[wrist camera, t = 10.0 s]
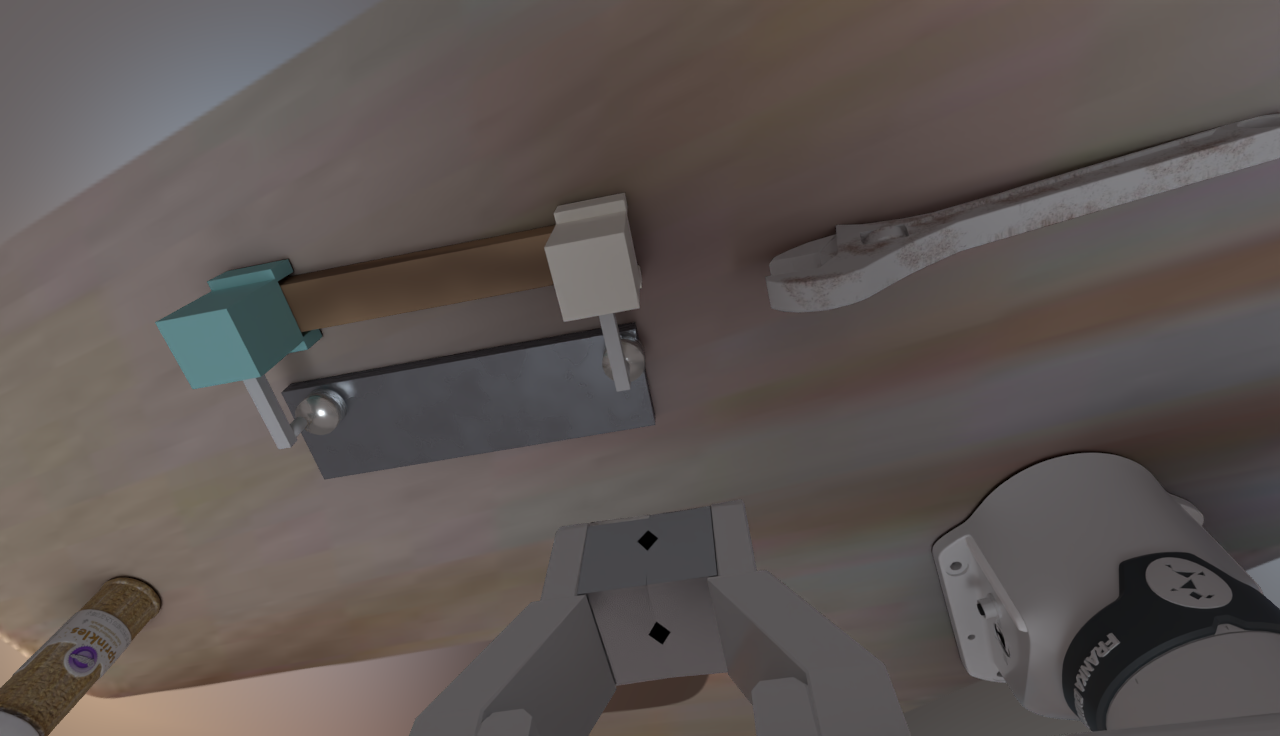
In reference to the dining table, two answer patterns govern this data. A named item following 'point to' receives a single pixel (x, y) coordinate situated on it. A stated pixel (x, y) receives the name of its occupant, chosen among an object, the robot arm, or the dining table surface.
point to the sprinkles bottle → (75, 658)
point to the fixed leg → (596, 269)
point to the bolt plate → (471, 403)
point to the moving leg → (241, 338)
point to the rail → (419, 280)
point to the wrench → (1004, 216)
